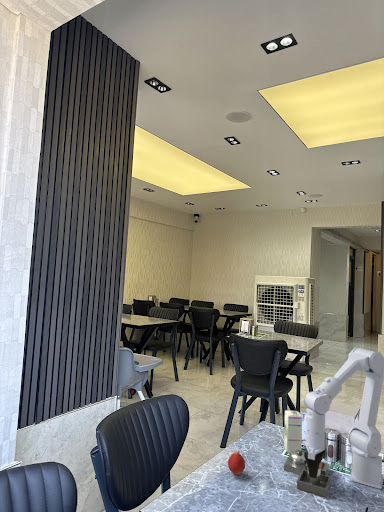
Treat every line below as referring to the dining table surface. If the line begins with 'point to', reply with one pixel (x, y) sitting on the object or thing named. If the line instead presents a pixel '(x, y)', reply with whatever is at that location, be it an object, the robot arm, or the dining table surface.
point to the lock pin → (317, 479)
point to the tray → (318, 489)
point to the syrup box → (292, 431)
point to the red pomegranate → (236, 463)
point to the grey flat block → (301, 463)
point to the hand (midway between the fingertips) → (314, 473)
